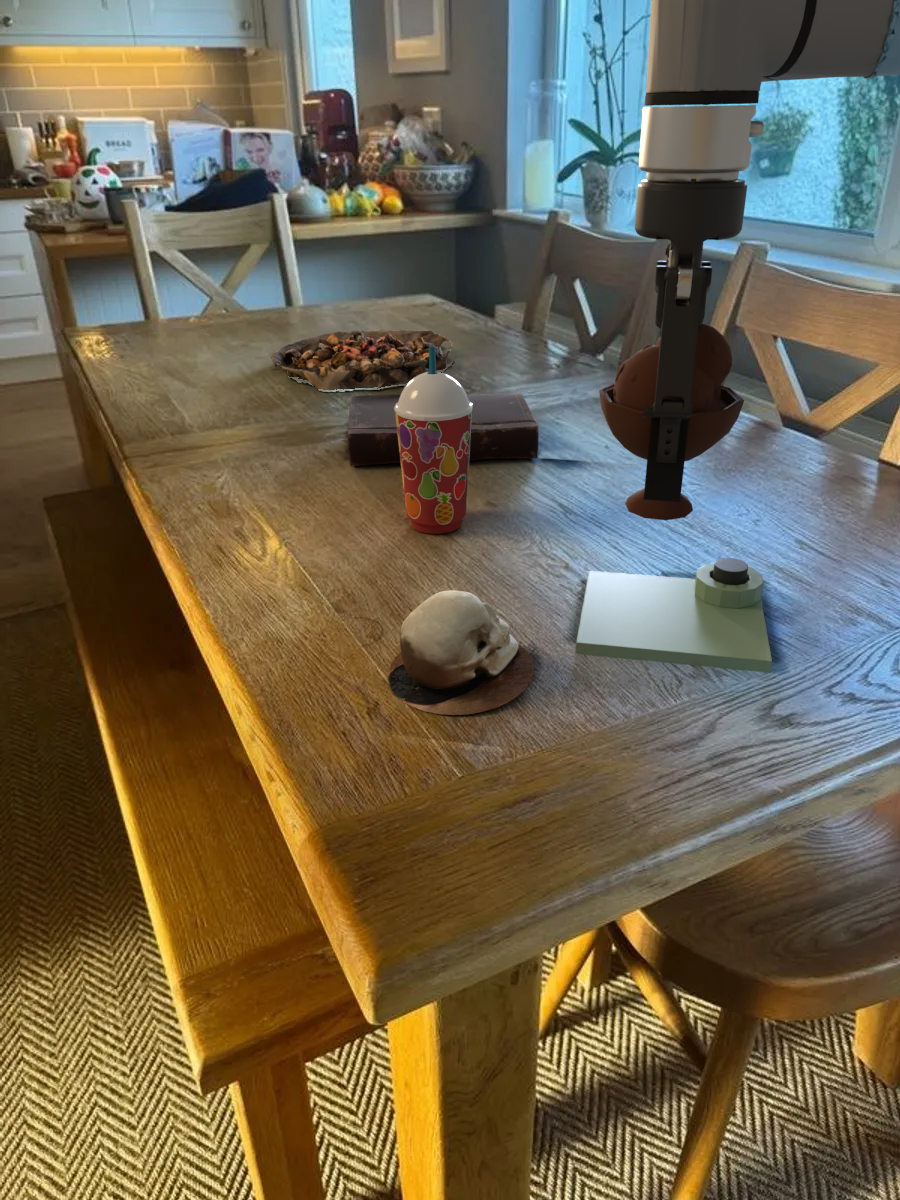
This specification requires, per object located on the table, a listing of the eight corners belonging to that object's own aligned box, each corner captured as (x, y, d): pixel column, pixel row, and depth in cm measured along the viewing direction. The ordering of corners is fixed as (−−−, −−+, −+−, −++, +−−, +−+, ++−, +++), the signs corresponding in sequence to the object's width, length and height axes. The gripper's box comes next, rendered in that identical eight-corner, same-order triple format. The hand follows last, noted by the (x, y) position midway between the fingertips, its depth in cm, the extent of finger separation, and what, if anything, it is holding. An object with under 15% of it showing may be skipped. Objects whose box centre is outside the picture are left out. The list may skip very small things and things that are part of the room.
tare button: (744, 573, 85) (747, 558, 84) (747, 588, 82) (749, 573, 81) (711, 571, 85) (713, 556, 84) (713, 585, 83) (715, 570, 82)
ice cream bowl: (652, 474, 82) (669, 303, 75) (754, 512, 74) (784, 324, 67) (565, 502, 76) (574, 320, 69) (666, 545, 68) (687, 345, 61)
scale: (756, 592, 87) (760, 564, 85) (770, 673, 74) (775, 642, 73) (588, 579, 90) (590, 551, 88) (575, 654, 77) (577, 624, 76)
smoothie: (474, 510, 106) (473, 336, 96) (472, 539, 99) (471, 355, 89) (403, 510, 106) (395, 337, 97) (396, 539, 99) (387, 355, 89)
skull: (477, 608, 82) (524, 561, 74) (521, 714, 80) (574, 677, 71) (358, 640, 77) (393, 593, 68) (400, 754, 74) (442, 720, 66)
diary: (538, 462, 120) (539, 425, 118) (349, 470, 119) (347, 433, 116) (518, 420, 136) (519, 387, 134) (353, 427, 135) (350, 393, 133)
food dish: (390, 409, 146) (386, 361, 142) (235, 388, 161) (228, 344, 157) (490, 355, 172) (489, 313, 168) (349, 341, 187) (345, 303, 183)
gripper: (762, 188, 53) (715, 533, 63) (738, 166, 73) (705, 431, 83) (631, 188, 54) (606, 525, 64) (643, 167, 74) (623, 427, 84)
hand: (662, 472), depth 74 cm, fingers closed on ice cream bowl, 11 cm apart
